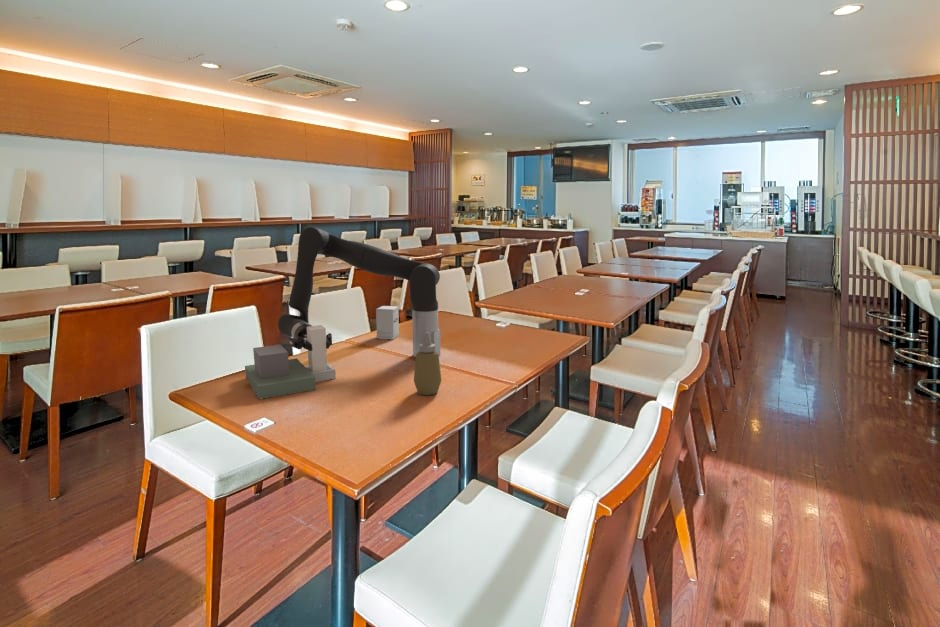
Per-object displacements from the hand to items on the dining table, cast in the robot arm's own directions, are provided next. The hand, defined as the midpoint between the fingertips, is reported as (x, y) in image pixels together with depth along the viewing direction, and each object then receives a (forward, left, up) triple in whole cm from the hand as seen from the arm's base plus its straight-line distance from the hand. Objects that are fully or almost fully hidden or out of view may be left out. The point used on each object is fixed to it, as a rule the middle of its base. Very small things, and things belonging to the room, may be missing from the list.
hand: (319, 346), depth 164 cm
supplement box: (+4, -55, -11) cm, 56 cm away
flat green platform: (+7, +4, -11) cm, 14 cm away
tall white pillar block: (+2, -2, -8) cm, 9 cm away
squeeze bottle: (-36, 0, -11) cm, 38 cm away
